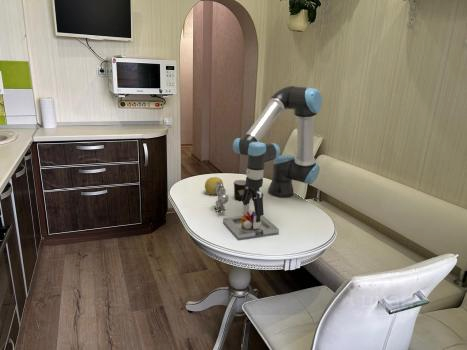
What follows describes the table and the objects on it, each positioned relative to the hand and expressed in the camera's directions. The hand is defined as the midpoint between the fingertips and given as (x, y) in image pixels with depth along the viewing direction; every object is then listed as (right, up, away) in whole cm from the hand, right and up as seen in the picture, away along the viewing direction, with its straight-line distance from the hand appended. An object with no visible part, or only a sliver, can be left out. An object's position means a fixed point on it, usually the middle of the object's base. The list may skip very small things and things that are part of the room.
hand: (250, 222), depth 162 cm
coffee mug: (-3, +8, +35) cm, 36 cm away
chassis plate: (0, -3, +1) cm, 3 cm away
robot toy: (-14, +3, +18) cm, 23 cm away
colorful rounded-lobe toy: (0, -2, +1) cm, 2 cm away
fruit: (-20, +11, +42) cm, 47 cm away
